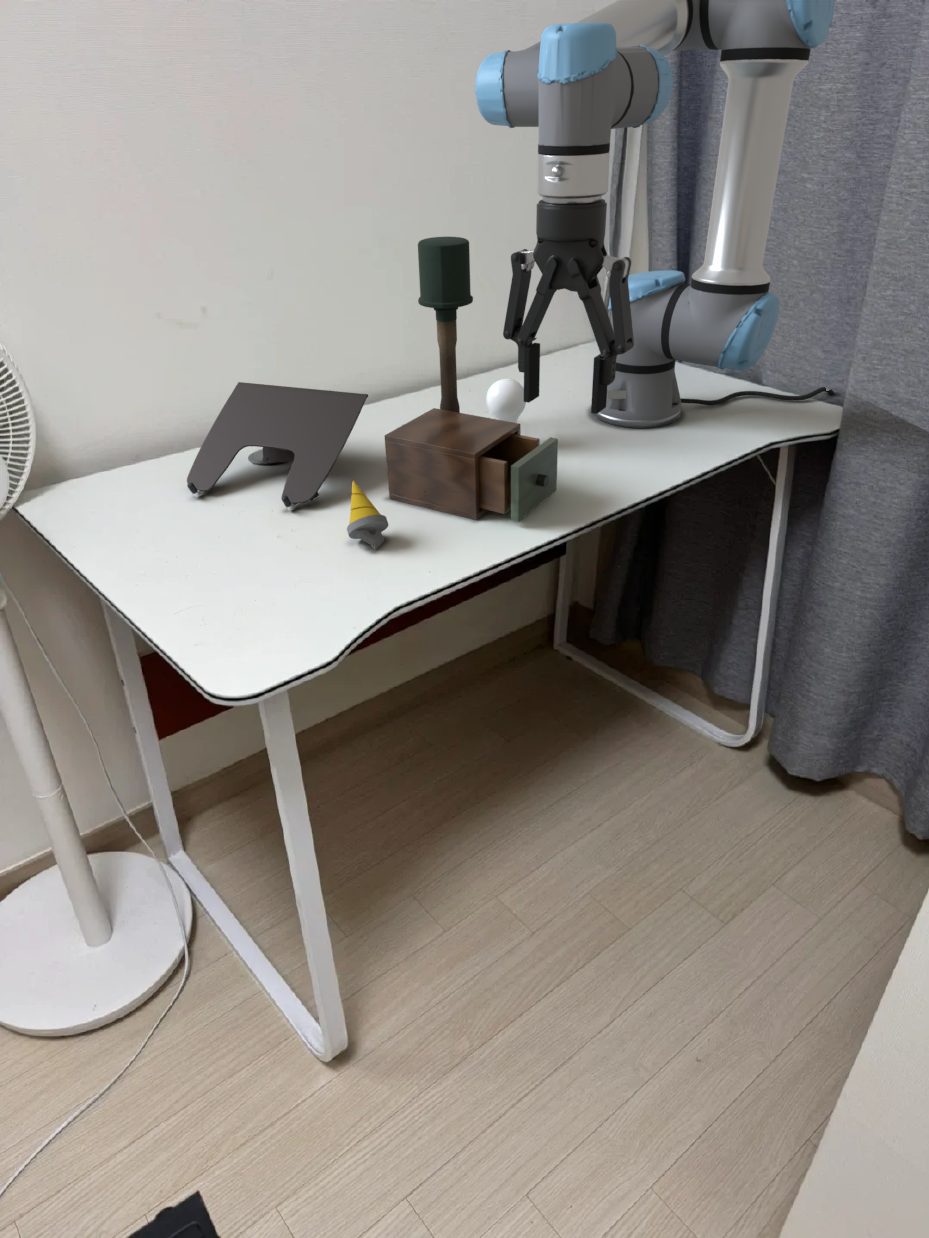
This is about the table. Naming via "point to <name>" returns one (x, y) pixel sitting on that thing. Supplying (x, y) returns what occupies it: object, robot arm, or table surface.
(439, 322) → the stick grenade
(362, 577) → the table surface
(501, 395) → the lightbulb
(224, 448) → the laptop tray
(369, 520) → the drill bit
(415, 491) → the cabinet
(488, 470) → the drawer
